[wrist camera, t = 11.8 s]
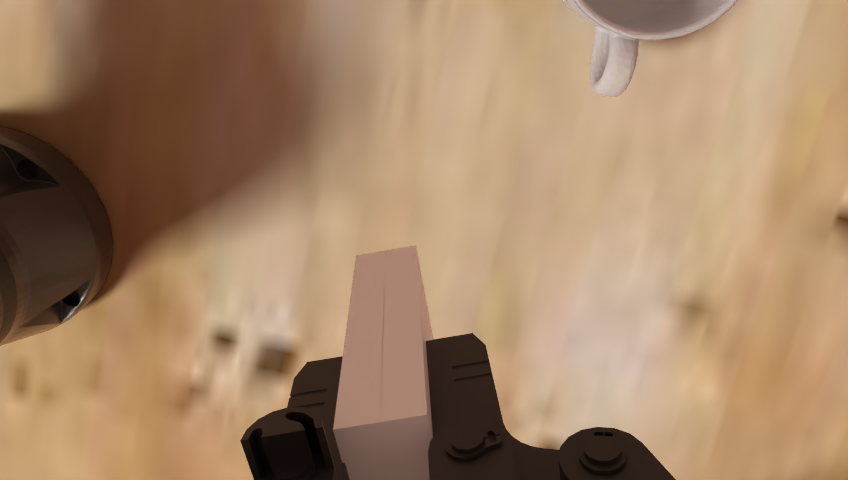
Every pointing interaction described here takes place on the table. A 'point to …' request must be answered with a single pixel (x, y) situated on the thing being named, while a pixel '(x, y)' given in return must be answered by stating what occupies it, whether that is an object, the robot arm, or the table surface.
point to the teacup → (637, 32)
